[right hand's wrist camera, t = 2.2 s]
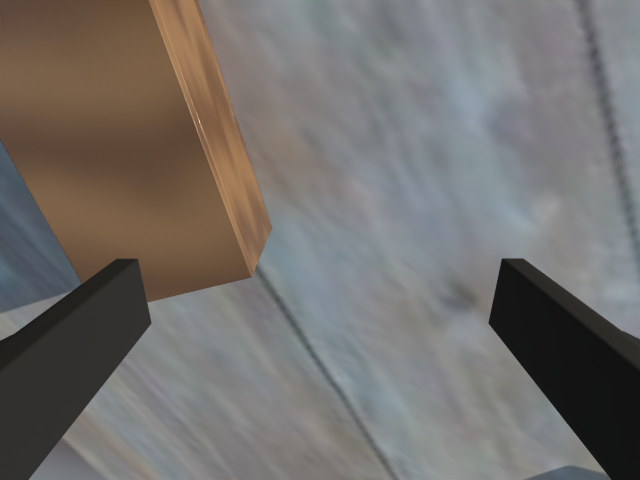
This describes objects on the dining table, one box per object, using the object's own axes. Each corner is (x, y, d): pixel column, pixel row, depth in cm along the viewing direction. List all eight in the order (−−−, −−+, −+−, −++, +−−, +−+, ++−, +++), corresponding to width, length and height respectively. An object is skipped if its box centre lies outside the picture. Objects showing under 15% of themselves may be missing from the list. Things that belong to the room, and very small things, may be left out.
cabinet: (51, 14, 26) (-104, -42, 16) (187, -31, 25) (105, -118, 15) (162, 255, 33) (98, 314, 23) (272, 228, 32) (252, 277, 22)
